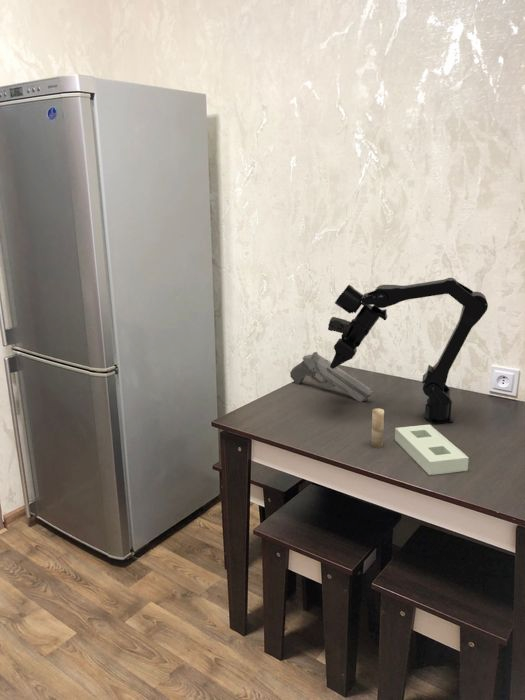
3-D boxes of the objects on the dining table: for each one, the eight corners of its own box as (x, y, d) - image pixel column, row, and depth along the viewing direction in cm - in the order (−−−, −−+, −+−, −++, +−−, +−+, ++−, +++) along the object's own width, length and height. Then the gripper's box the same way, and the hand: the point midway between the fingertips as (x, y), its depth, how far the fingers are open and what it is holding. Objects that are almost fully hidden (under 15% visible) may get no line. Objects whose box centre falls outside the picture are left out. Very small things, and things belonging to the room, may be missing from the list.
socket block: (394, 439, 154) (395, 428, 153) (428, 436, 156) (429, 424, 155) (429, 475, 135) (430, 462, 134) (467, 470, 137) (468, 457, 136)
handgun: (360, 425, 187) (376, 388, 179) (355, 428, 184) (371, 391, 177) (291, 376, 202) (303, 341, 195) (286, 378, 200) (297, 342, 193)
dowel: (379, 442, 152) (381, 407, 150) (384, 447, 150) (385, 412, 147) (369, 443, 152) (370, 408, 149) (373, 448, 149) (375, 413, 146)
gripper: (345, 301, 175) (318, 340, 181) (334, 314, 157) (305, 356, 164) (375, 321, 173) (347, 360, 180) (367, 336, 156) (336, 379, 163)
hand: (334, 363), depth 171 cm, fingers open, 9 cm apart
